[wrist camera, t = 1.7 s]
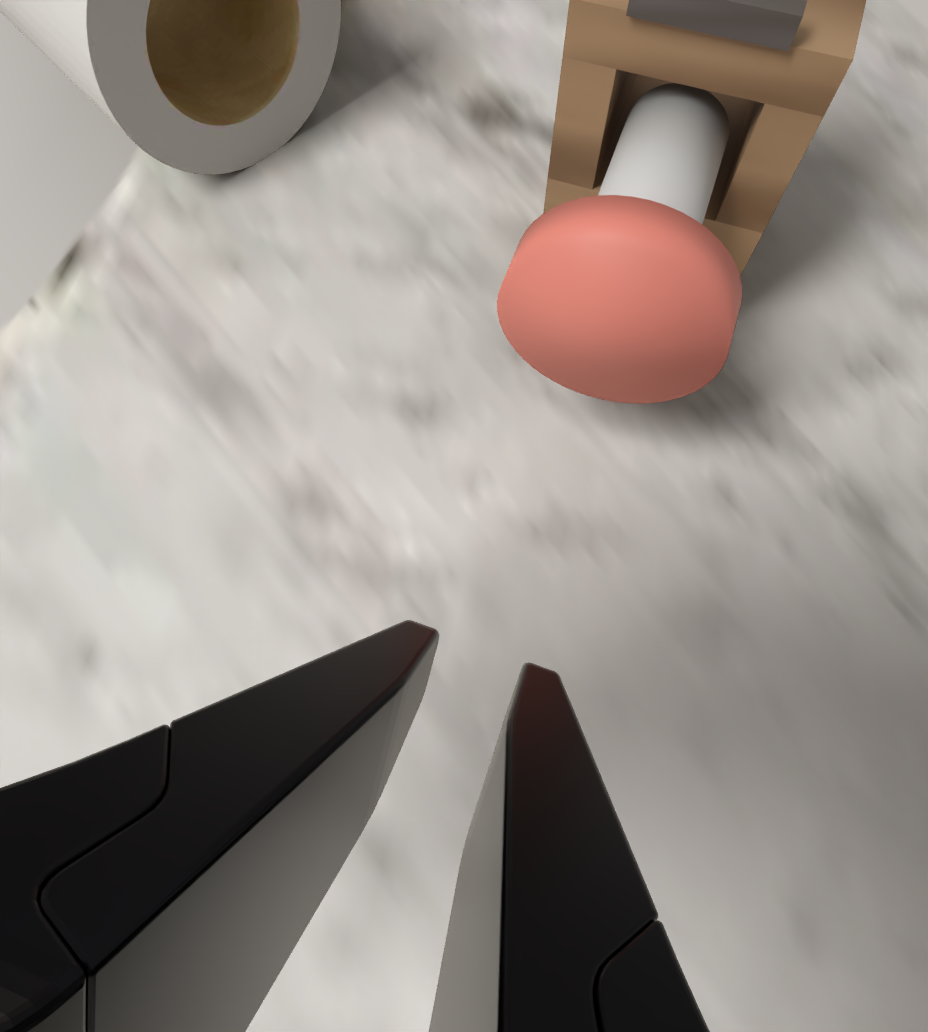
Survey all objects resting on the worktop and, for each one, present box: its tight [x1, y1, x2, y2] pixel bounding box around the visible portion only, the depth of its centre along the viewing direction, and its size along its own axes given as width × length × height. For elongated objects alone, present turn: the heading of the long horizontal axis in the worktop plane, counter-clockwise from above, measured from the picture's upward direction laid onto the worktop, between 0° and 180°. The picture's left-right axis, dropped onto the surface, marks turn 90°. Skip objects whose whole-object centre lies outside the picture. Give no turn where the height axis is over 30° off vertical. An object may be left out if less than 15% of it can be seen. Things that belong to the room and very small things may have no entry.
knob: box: [497, 83, 742, 403], centre depth 19 cm, size 8×6×6 cm
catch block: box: [543, 0, 866, 276], centre depth 22 cm, size 6×7×11 cm
